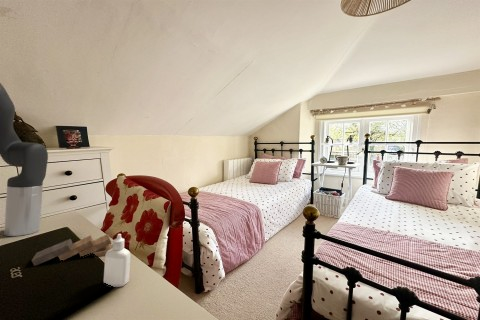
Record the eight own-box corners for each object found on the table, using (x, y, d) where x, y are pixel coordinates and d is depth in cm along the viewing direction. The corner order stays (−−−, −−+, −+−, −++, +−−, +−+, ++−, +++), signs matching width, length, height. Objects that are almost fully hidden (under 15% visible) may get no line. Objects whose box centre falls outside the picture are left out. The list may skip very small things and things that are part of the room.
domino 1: (58, 256, 59) (91, 240, 63) (59, 249, 63) (90, 235, 67) (61, 261, 59) (93, 245, 64) (62, 254, 63) (92, 240, 68)
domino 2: (79, 253, 61) (109, 238, 66) (79, 246, 66) (108, 233, 70) (81, 258, 62) (111, 243, 66) (81, 251, 66) (110, 238, 70)
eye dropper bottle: (111, 291, 48) (114, 240, 48) (101, 282, 52) (104, 233, 51) (130, 283, 52) (133, 235, 52) (120, 274, 55) (123, 229, 55)
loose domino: (31, 260, 56) (67, 245, 60) (36, 252, 60) (70, 238, 64) (34, 266, 56) (70, 250, 60) (39, 257, 61) (72, 243, 65)
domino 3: (93, 253, 63) (123, 248, 67) (94, 246, 67) (123, 243, 71) (93, 259, 63) (123, 254, 67) (94, 252, 67) (122, 248, 71)
